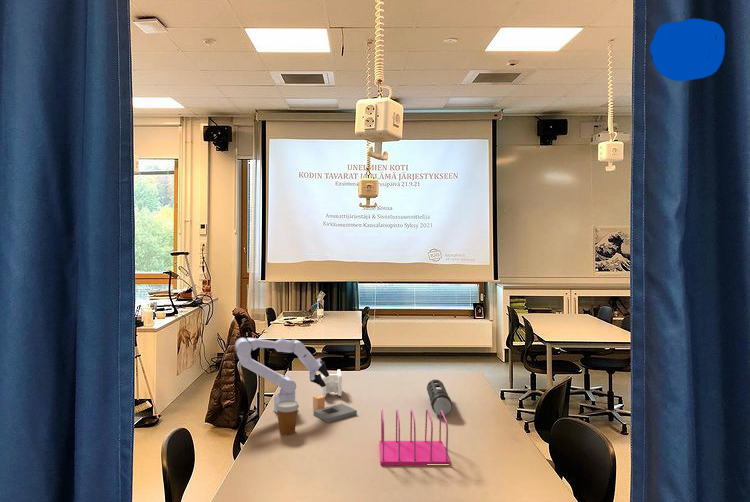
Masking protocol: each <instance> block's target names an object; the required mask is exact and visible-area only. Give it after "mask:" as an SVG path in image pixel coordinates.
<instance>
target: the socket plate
mask: <svg viewBox="0 0 750 502" xmlns="http://www.w3.org/2000/svg"><path fill="white" fill-rule="evenodd" d="M357 412H358V410H357V409H354V408H352V407H350V406H349V405H346V404H344V403H339V404H335V405H330V406H327V407H326V406H325V408H322V409H318V410H314V409H313V416H314V417H316V418H318V419H320V420H322V421H324V422H326V423H327V424H328V423H333V422H336V421H339V420H344V419H346V418H351V417H353V416H356V415H357V414H358V413H357Z"/></svg>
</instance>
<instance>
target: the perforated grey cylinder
mask: <svg viewBox="0 0 750 502" xmlns="http://www.w3.org/2000/svg"><path fill="white" fill-rule="evenodd" d="M426 391H427V394H428V397H429V401H430V406H431V410H432V411H433V413H435V414H436V415H438V416H440V410H442V412H443V414H444V416H447V415H448V414H449V413H450V412H451V411H452V408H453V401H452V399H451V397H450V396H449V394H448V392H447V389H446V387H445V385H444V383H443V382H442V381H441V380H439V379H432V380H430V381H429V382H427V385H426ZM441 417H443V415H442V413H441Z"/></svg>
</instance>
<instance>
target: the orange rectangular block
mask: <svg viewBox="0 0 750 502" xmlns="http://www.w3.org/2000/svg"><path fill="white" fill-rule="evenodd" d="M325 400H326V398H325V397H324V396H322V394H319V395H313V396H312V409H313V411H314V410H318V409H322V408H326V406H325V405H326V404H325V403H326V401H325Z"/></svg>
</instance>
